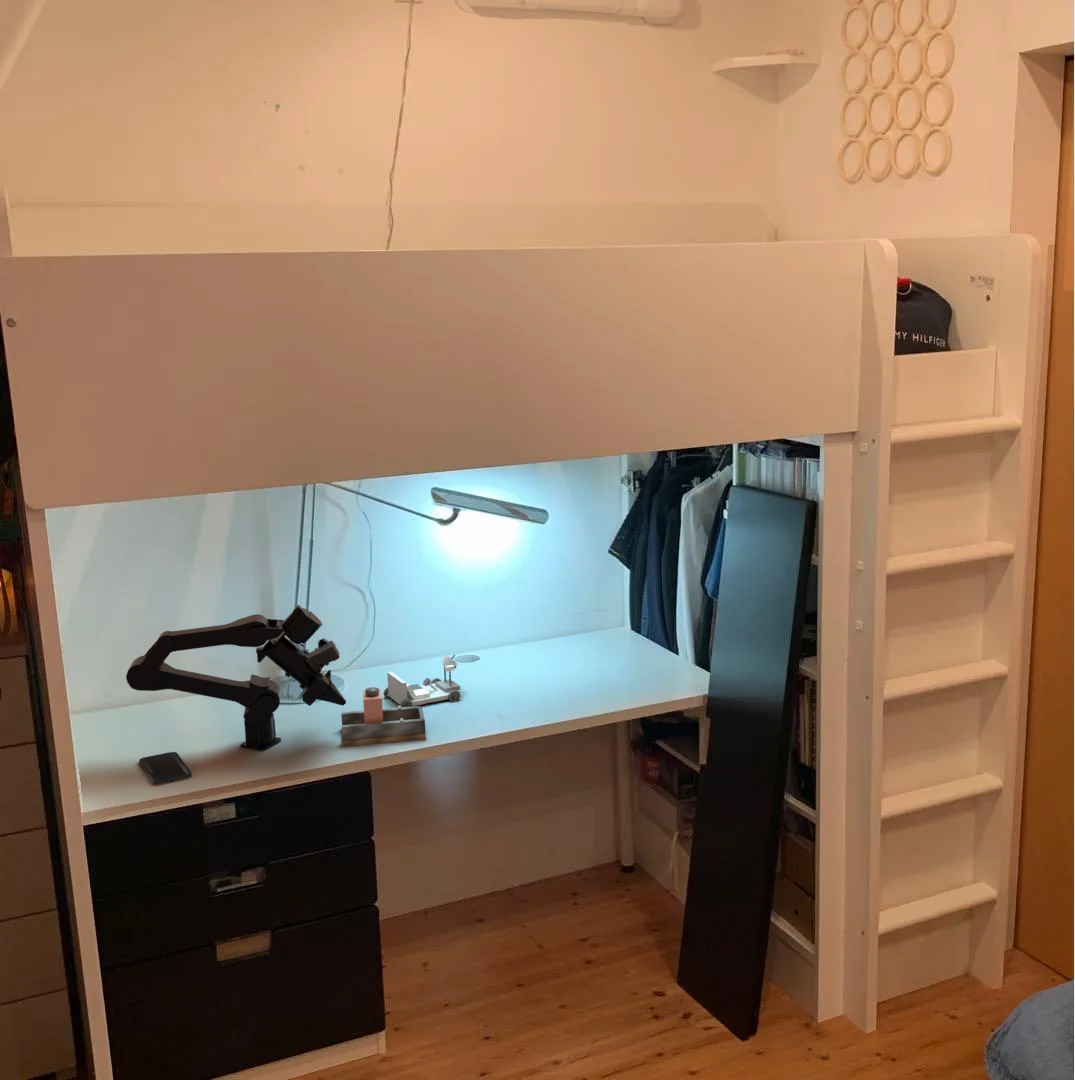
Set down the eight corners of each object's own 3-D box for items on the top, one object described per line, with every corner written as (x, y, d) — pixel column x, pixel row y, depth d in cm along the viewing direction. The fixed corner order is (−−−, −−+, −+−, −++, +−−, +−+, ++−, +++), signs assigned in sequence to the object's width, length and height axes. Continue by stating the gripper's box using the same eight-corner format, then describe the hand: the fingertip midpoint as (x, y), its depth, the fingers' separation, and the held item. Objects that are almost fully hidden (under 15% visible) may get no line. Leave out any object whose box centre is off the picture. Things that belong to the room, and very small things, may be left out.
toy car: (449, 649, 287) (469, 660, 277) (451, 686, 289) (470, 699, 279) (381, 660, 279) (399, 673, 269) (383, 699, 281) (401, 713, 271)
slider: (365, 734, 253) (363, 694, 251) (364, 725, 259) (362, 685, 257) (383, 732, 254) (381, 693, 252) (382, 723, 260) (380, 684, 258)
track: (342, 745, 250) (341, 726, 249) (342, 728, 261) (341, 709, 260) (425, 738, 253) (425, 719, 252) (421, 721, 264) (421, 703, 263)
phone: (175, 751, 248) (192, 774, 235) (176, 756, 248) (193, 779, 235) (137, 758, 244) (152, 782, 231) (138, 763, 244) (153, 787, 231)
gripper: (315, 643, 241) (371, 690, 245) (316, 620, 259) (368, 664, 263) (279, 682, 241) (335, 728, 245) (282, 656, 259) (335, 700, 263)
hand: (344, 703), depth 254 cm, fingers closed
